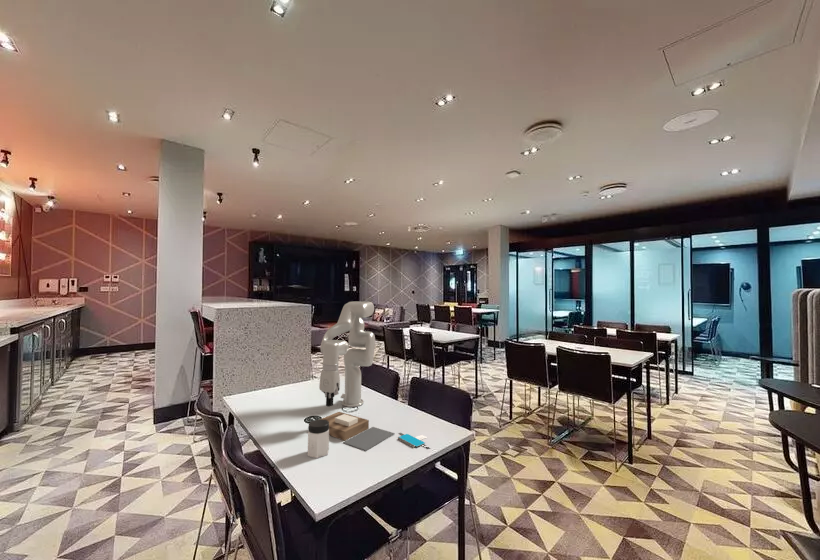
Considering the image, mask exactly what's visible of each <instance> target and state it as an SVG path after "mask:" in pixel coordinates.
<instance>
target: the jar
mask: <svg viewBox="0 0 820 560" xmlns="http://www.w3.org/2000/svg"><path fill="white" fill-rule="evenodd" d="M319 419H320V420H319ZM319 419H315V420H312V421H310V422H309V423H308V427H307V429H308V433H307V457H309V458H310V457H311V458H315V459H319V458H323V457H324V456H328V455H329V450H330V435H329V421H327V420H323V419H322V418H319Z"/></svg>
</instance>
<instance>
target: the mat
mask: <svg viewBox="0 0 820 560" xmlns="http://www.w3.org/2000/svg"><path fill="white" fill-rule="evenodd" d="M393 436H395V432H391V431H388V430H385V429H382V428H379V427H375V426H371V427H369V429H367V430H365V431H363V432H361V433H359V434H357V435H355V436H353V437H351V438H349V439H347V440H346V441H343V444H345V445H347V446H350V447H353V448H356V449H359V450H361V451H364V452H367V451H369V450H371V449H372V448H374V447H376V446H377V445H379V444H381V443H382V442H384V441H385V440H387V439H389V438H391V437H393Z"/></svg>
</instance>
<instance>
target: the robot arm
mask: <svg viewBox="0 0 820 560" xmlns="http://www.w3.org/2000/svg"><path fill="white" fill-rule="evenodd" d="M374 311H375V306H374V303H373V302H372V301H348V302H347V303H345V304H344V305H343V307H342V309H341V312H340V315H339V317H338V320H337V323H335V324H334V325H332V326H330V327H329V328H328V330H326V332H325V333H324V335H323V337H322V340H321V343H320V346H319V347H320V352H321V353H322V369H321V372H320V376H319V386H318V387H319V390H320V391H321V393H323V394H324V397H325V406H326V407H332V406H334V398H335V396H338V395H339V394H340V393H339V391H340V388H341V379H340V378H341V376H340V371H339V363H340V362H339V356H343V363H344V393H342V394H341V395H340V399H342V401H341V405H342V406H344V407H347V408H355V407H360V406H363V404H364V402H365V401H364V399H362V370H361V369H360V367H370V366H372V365H373V362H374V357H375V345H376V337H375V334H374V333H373V332H372V331H368V330H367V331H366V330H365V321H364V319H363V318H368V317H371V316H373V315H374ZM348 332H349V333H348ZM346 333H348V342H347V341H346V340H341V339H339V340H338V339H334V338H336V337H337V336H339V335H342V334H346ZM349 346H350V347H352V348H350V347H349ZM356 348H357V349H356ZM358 348H365V349H358Z"/></svg>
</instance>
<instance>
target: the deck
mask: <svg viewBox="0 0 820 560" xmlns="http://www.w3.org/2000/svg"><path fill="white" fill-rule="evenodd" d="M343 414H346V415H349V416H353V417H356V418H358V422H357V423H355V424H353V425H351V426H346V425H342V424H339V423H336V422H335V418H336V417H338V416H341V415H343ZM320 419H323V420H327V421H329V437H330V436H331V437H334V438H336V439H339V440H341V441H343V442H345V441H346V440H348V439H350V438H352V437H354V436H356V435H358V434H360V433H362V432H364V431H366V430H368V429H370V427H369V426H370V425H369V424H370V423H369V422H370V421H369V419H366V418H363V417H359V416H356V415H351V414H349V413H345V412H342V411H337V412H334V413H331V414H330V415H326V416H324V417H322V418H319V419H318V420H320Z"/></svg>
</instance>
